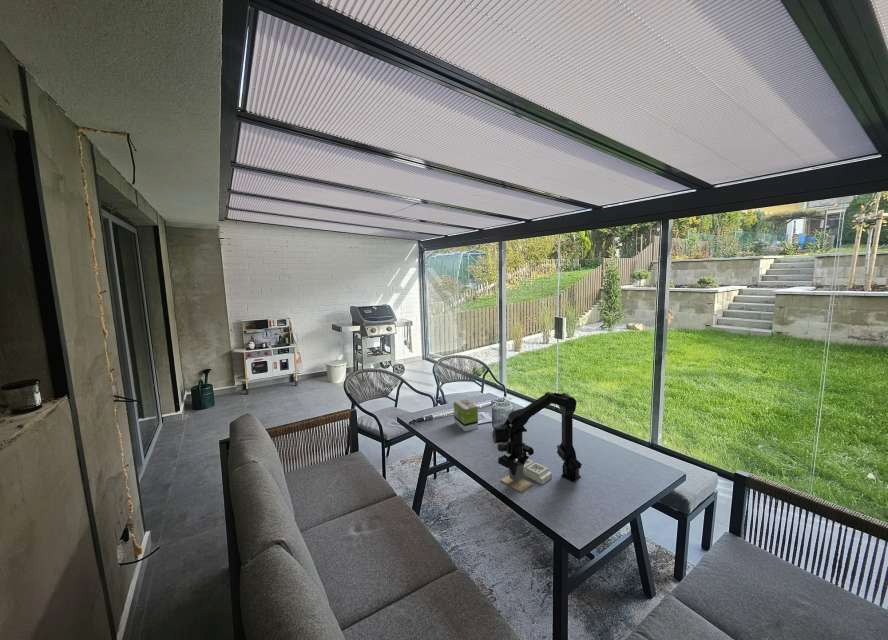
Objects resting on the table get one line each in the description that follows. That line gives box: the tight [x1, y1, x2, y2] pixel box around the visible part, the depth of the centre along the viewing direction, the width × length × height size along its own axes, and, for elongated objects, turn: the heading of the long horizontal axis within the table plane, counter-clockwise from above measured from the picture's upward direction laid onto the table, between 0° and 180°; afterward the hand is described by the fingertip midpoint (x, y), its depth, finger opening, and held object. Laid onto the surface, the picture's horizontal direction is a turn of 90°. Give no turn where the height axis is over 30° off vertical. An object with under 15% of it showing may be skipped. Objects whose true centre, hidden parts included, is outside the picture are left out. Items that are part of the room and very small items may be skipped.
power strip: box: [515, 458, 553, 485], centre depth 164 cm, size 19×8×4 cm, turn 39°
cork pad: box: [500, 474, 534, 494], centre depth 156 cm, size 12×8×1 cm, turn 39°
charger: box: [508, 460, 524, 482], centre depth 155 cm, size 4×4×7 cm
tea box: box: [453, 399, 479, 432], centre depth 218 cm, size 15×10×15 cm
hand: (516, 473), depth 155 cm, fingers closed on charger, 4 cm apart
